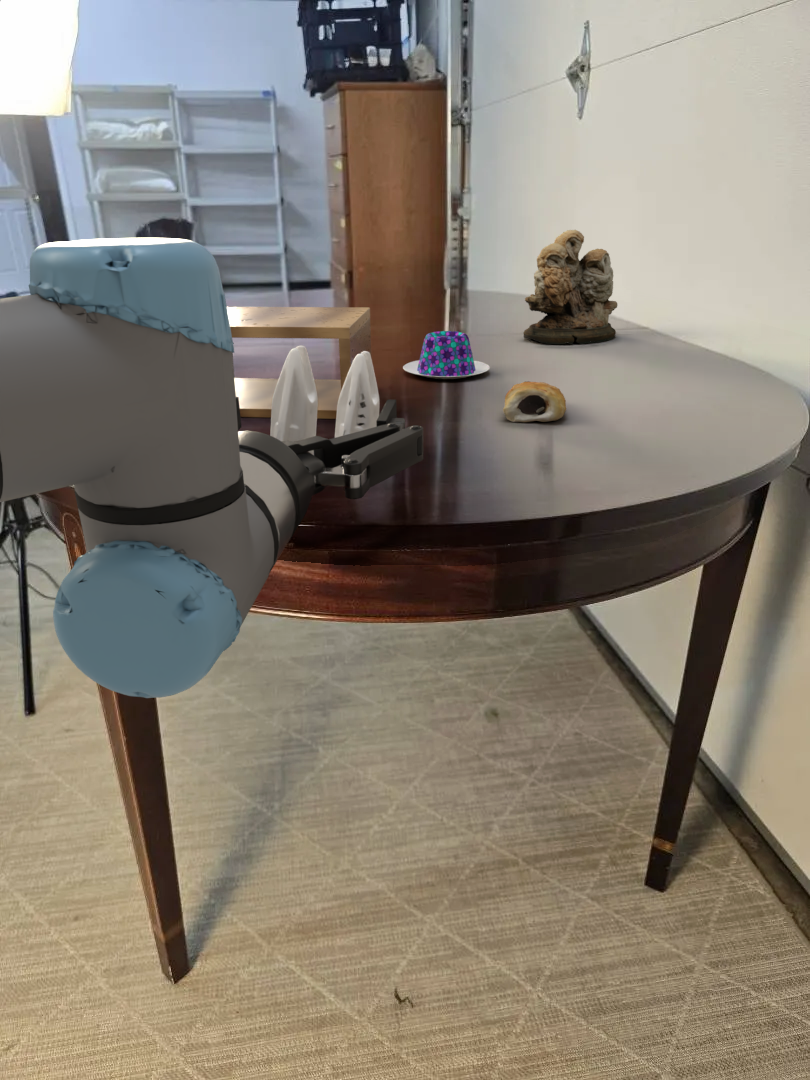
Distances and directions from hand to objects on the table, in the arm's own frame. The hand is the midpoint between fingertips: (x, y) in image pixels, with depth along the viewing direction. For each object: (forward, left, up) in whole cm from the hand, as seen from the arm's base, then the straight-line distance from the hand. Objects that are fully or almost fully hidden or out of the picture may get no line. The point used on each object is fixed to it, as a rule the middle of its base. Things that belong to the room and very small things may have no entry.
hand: (313, 413), depth 66 cm
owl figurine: (+28, +72, -6) cm, 77 cm away
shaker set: (0, +4, -6) cm, 7 cm away
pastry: (+20, +23, -6) cm, 31 cm away
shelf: (-12, +27, -6) cm, 30 cm away
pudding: (+9, +44, -6) cm, 45 cm away
